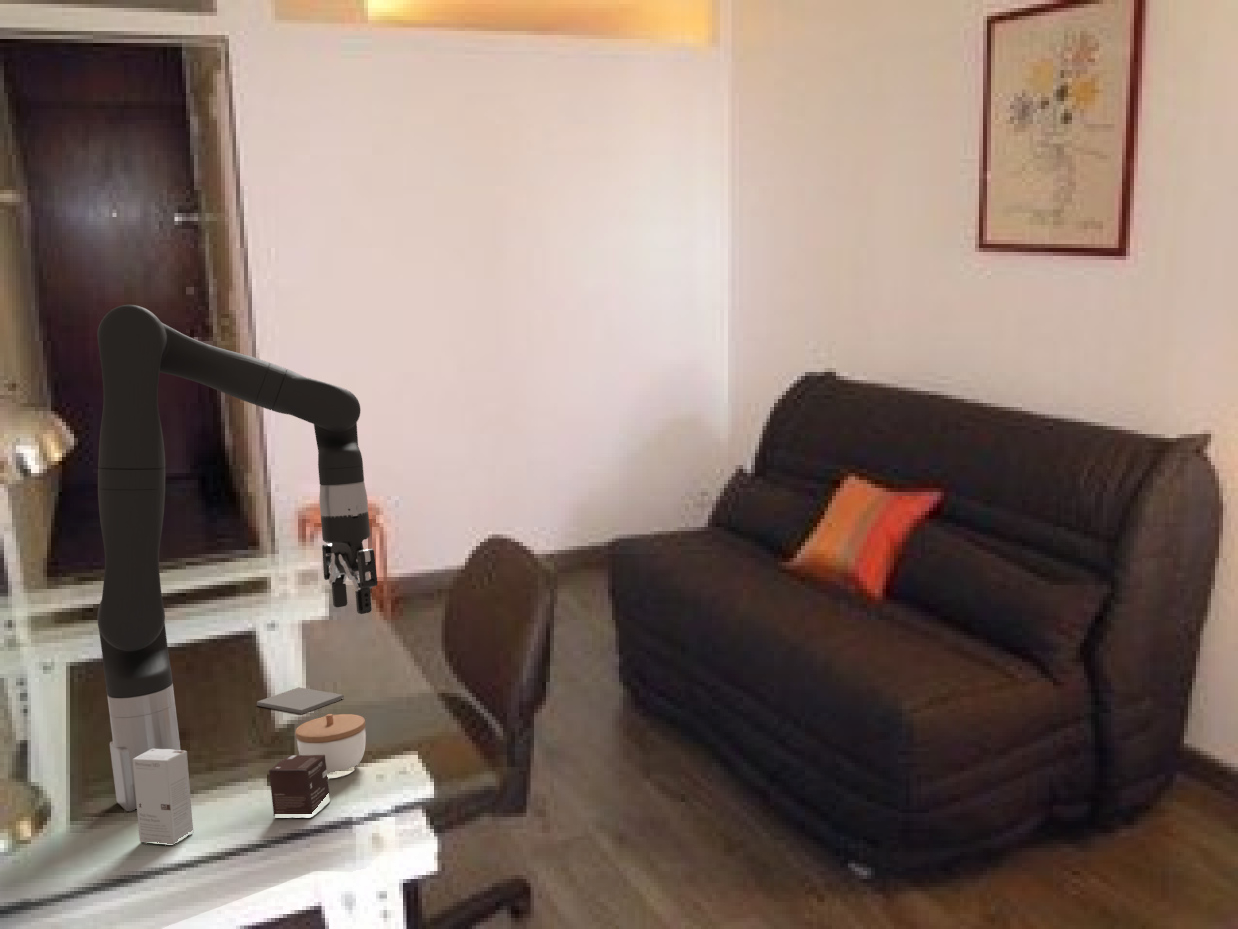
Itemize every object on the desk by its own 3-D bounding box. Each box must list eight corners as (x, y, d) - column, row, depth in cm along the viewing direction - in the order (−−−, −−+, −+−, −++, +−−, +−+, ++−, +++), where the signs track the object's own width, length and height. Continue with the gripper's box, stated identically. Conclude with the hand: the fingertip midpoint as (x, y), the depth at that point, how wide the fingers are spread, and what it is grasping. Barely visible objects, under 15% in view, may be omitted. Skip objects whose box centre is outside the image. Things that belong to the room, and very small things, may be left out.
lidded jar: (379, 758, 173) (373, 702, 173) (355, 784, 163) (349, 724, 162) (316, 761, 175) (310, 705, 174) (289, 787, 164) (282, 727, 163)
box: (311, 820, 150) (306, 770, 150) (272, 820, 151) (267, 770, 151) (331, 802, 156) (326, 754, 156) (294, 802, 157) (288, 754, 157)
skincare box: (138, 844, 147) (127, 759, 146) (161, 830, 151) (151, 747, 150) (175, 847, 145) (164, 760, 144) (197, 832, 149) (187, 749, 148)
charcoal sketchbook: (302, 714, 201) (301, 710, 201) (257, 705, 210) (256, 701, 210) (343, 698, 209) (343, 694, 209) (299, 691, 218) (298, 687, 218)
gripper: (303, 511, 175) (311, 609, 176) (342, 516, 164) (351, 619, 165) (345, 506, 180) (353, 601, 181) (386, 510, 169) (394, 611, 170)
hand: (352, 609), depth 173 cm, fingers open, 8 cm apart
